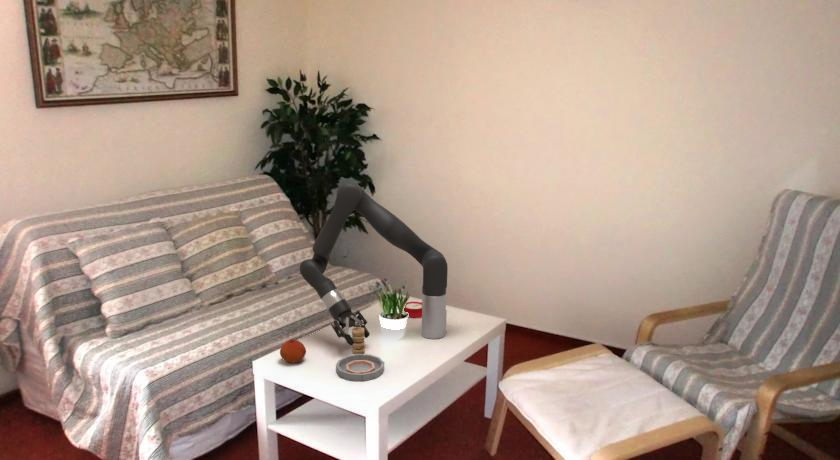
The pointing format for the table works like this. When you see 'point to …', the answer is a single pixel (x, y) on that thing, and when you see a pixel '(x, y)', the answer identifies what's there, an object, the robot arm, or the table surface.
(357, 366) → the round tray
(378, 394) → the table surface
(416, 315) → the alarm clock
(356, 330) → the bead stack
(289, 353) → the fruit
